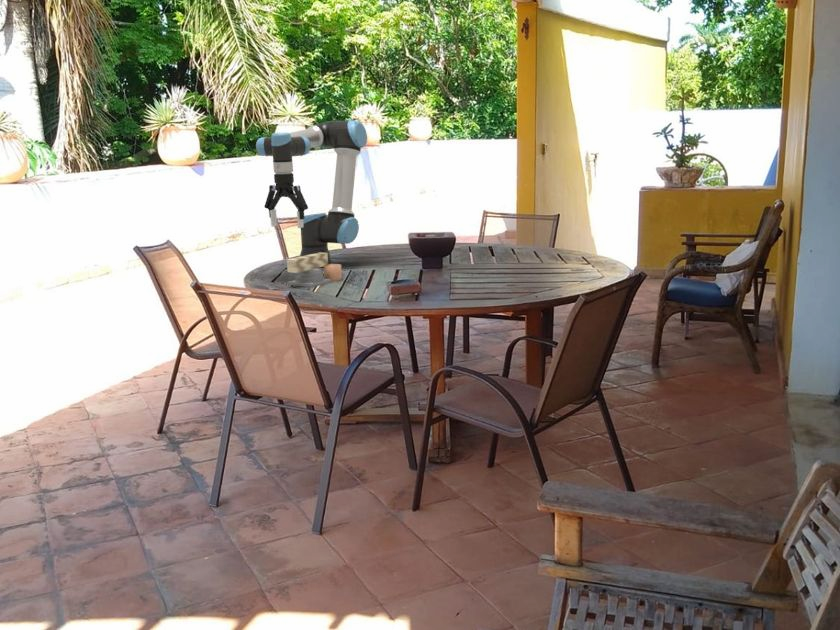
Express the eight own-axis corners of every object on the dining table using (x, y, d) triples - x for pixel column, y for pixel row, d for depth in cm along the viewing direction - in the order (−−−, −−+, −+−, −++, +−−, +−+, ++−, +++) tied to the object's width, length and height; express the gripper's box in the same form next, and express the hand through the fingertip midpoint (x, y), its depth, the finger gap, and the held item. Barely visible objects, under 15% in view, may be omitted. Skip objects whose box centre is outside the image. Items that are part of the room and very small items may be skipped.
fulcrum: (307, 279, 329) (307, 265, 327) (330, 282, 322) (330, 267, 321) (287, 284, 319) (287, 269, 317) (311, 287, 312) (310, 272, 311)
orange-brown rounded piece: (331, 277, 333) (331, 263, 331) (345, 279, 329) (344, 264, 328) (320, 280, 327) (320, 265, 325) (334, 281, 323) (333, 267, 322)
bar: (320, 264, 328) (319, 252, 327) (328, 265, 326) (327, 253, 325) (287, 272, 312) (286, 259, 311) (295, 272, 310) (294, 260, 309)
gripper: (253, 173, 320) (257, 226, 325) (302, 174, 307) (306, 229, 313) (265, 171, 326) (269, 224, 331) (314, 172, 314) (318, 226, 319)
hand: (287, 226), depth 322 cm, fingers open, 13 cm apart
